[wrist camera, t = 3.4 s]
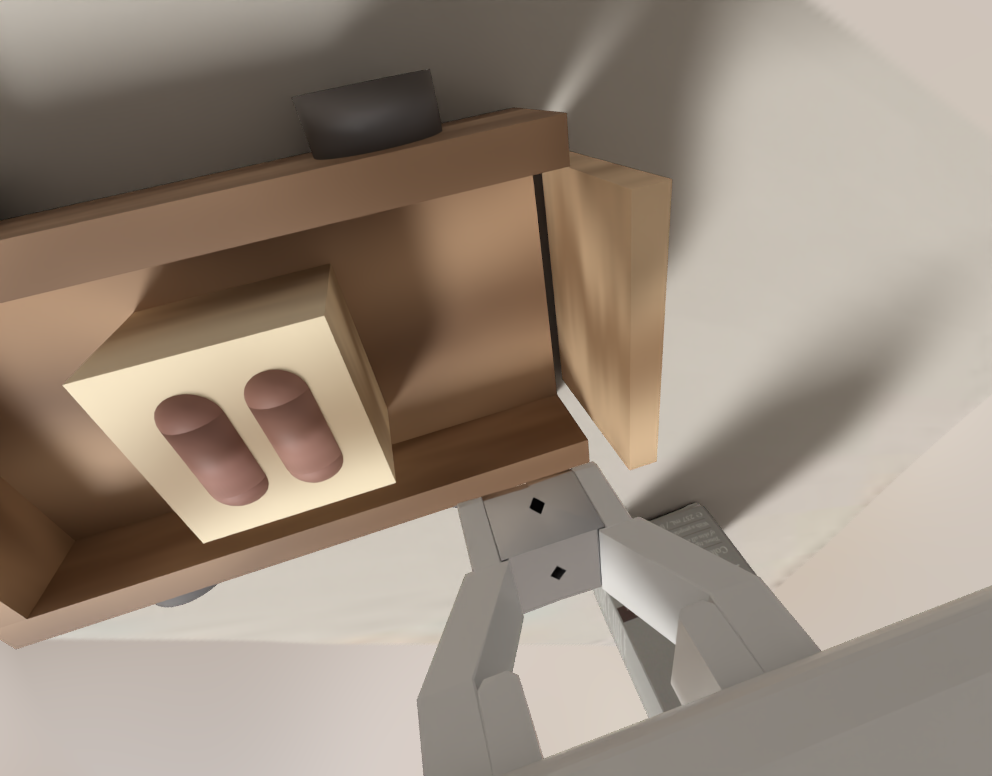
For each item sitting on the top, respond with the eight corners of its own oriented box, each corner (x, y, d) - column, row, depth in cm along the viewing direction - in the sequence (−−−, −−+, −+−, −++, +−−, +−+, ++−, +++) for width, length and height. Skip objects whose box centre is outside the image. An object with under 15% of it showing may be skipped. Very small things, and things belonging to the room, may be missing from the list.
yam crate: (133, 312, 14) (50, 397, 10) (330, 263, 14) (323, 324, 11) (232, 454, 17) (199, 557, 13) (387, 408, 18) (397, 493, 14)
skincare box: (698, 497, 29) (973, 817, 16) (694, 559, 33) (910, 853, 20) (576, 544, 28) (762, 918, 16) (587, 602, 32) (742, 935, 20)
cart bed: (-298, 219, 11) (-599, 278, 8) (506, 54, 14) (561, 40, 10) (101, 563, 20) (46, 667, 16) (552, 423, 22) (590, 486, 19)
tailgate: (535, 149, 15) (631, 179, 10) (563, 143, 15) (672, 169, 10) (559, 378, 21) (629, 474, 15) (579, 372, 21) (656, 465, 16)
